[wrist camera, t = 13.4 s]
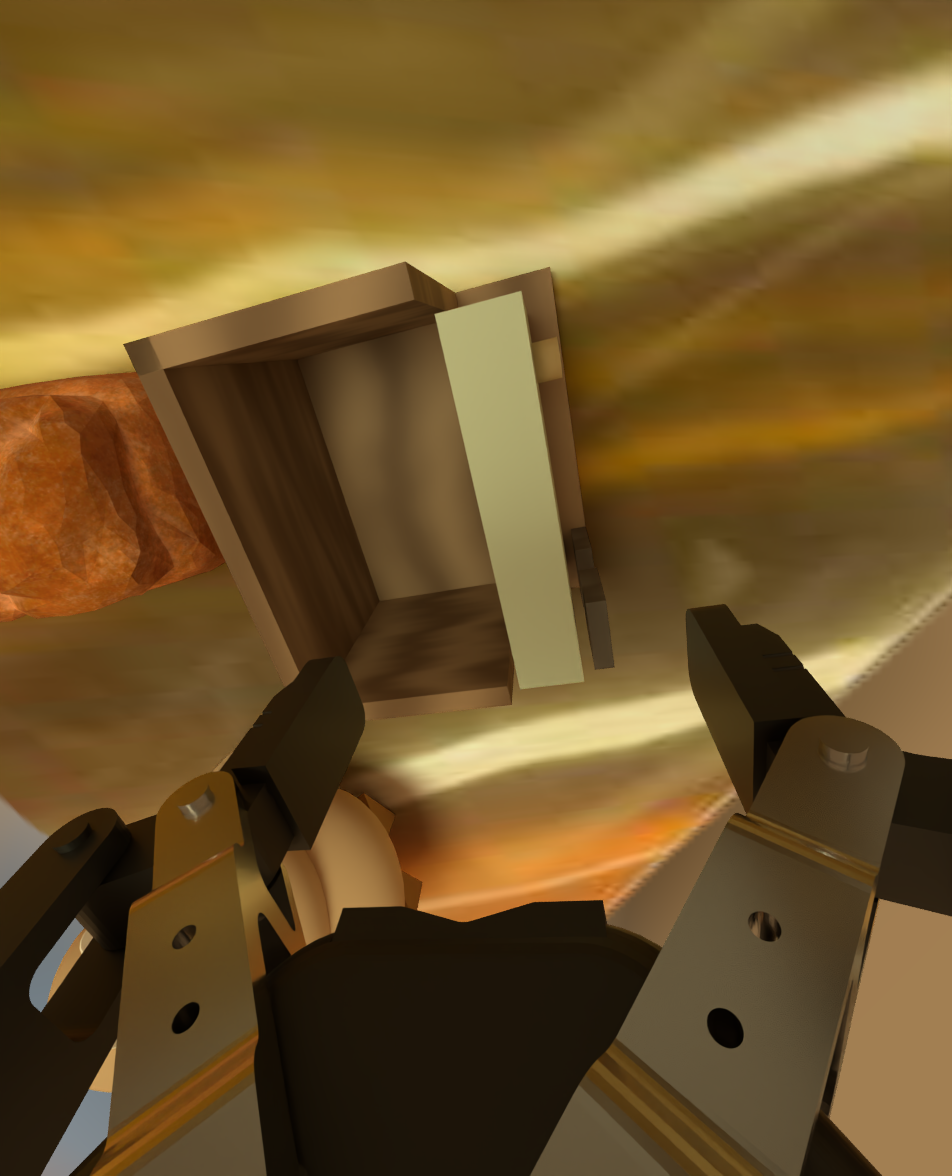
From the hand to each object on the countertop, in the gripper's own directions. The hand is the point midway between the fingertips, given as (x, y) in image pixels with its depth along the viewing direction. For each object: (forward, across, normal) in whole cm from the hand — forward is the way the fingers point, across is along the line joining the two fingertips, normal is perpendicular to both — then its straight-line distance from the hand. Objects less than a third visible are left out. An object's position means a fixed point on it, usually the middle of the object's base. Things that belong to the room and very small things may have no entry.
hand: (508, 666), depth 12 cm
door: (+24, 0, 0) cm, 24 cm away
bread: (+25, +34, -4) cm, 42 cm away
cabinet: (+25, +6, 0) cm, 26 cm away
